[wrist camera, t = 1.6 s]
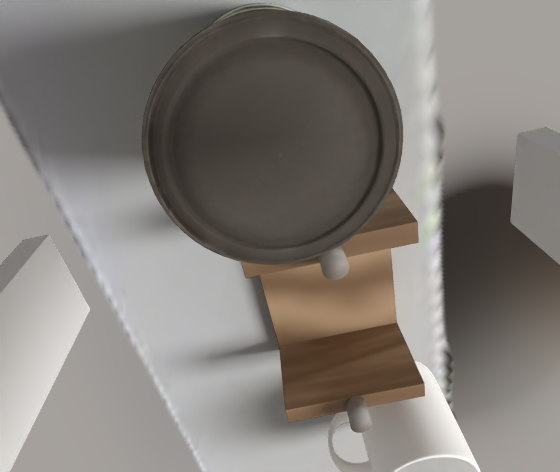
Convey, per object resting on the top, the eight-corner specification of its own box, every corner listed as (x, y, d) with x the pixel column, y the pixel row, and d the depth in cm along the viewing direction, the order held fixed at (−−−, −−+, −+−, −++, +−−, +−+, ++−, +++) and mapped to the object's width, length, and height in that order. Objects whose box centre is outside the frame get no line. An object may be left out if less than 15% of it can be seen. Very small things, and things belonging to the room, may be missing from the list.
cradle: (241, 202, 33) (239, 277, 24) (381, 172, 33) (430, 237, 24) (281, 350, 41) (291, 445, 32) (394, 327, 41) (434, 418, 32)
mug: (311, 372, 43) (330, 477, 34) (430, 346, 42) (481, 446, 33) (327, 425, 47) (347, 531, 38) (434, 402, 47) (481, 504, 37)
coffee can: (264, -39, 25) (281, -68, 13) (367, 90, 30) (453, 159, 17) (153, 86, 28) (84, 155, 16) (261, 187, 33) (270, 303, 20)
